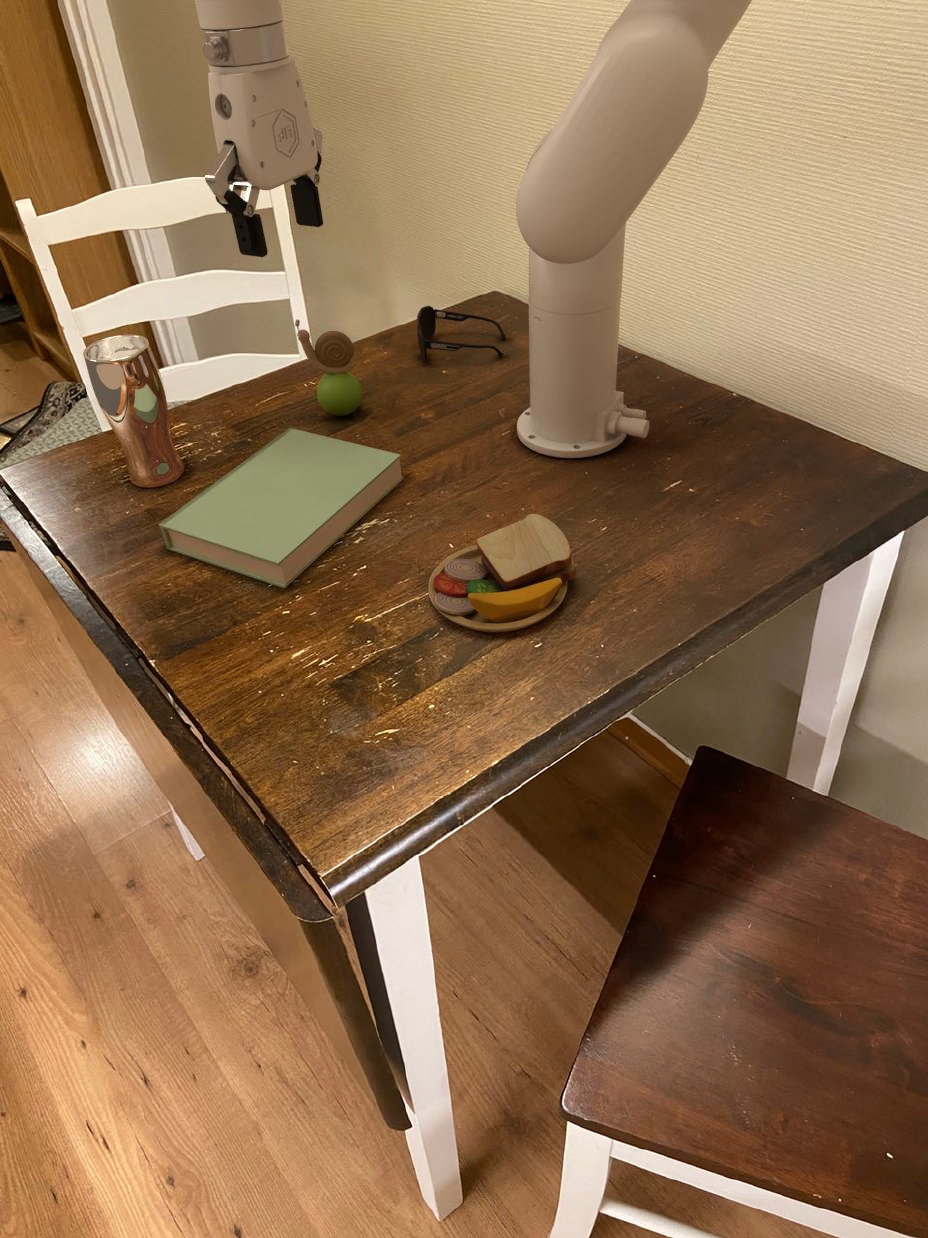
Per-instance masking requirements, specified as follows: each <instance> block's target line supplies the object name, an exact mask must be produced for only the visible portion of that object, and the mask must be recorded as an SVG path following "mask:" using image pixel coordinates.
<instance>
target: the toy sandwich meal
mask: <svg viewBox="0 0 928 1238" xmlns="http://www.w3.org/2000/svg"><path fill="white" fill-rule="evenodd" d="M570 545H571V544H570V542H569V540H568V538H567V537H566V535H565V534H564V532H563V531H562V529H560V527H559V526H558V525H556V523H554V522H553V521H552V520H550V519H549V518H548V517H546V516H543V515H541V514H538V513H529V514H527V515H526V516H525V517H524V518H523V519H521V520H518V521H516V522H513V523H512V524H509V525H506V526H504V527H502V528H499V529H496V530H494V531H492V532H489V533H487V534H485V535H483V536H480V537H478V538H476V540H475V544H474V545H472V546H468V547H465V548H462V549H459V550H458V551H456V552H454V553H452V554H450V555H449V556H447V557H446V558H444V559H443V560H442V561H441V562H440V563H439V564H438V565H437V566H436V567H435V568H434V569H433V571H432V573H431V575H430V576H429V580H428V584H427V592H428V596H429V599H430V602H431V603H432V605H433V607H434V608H435V609H436V610H437V611H438V612H439V613H440V614H441V615H442V616H444V617H445V618H446V619H448V620H449V621H451V622H453V623H455V624H457V625H459V626H462V627H465V628H467V629H470V630H473V631H477V632H483V633H485V632H486V633H506V632H507V633H508V632H513V631H517V630H521V629H524V628H527V627H530V626H532V625H534V624H536V623H538V622H540V621H542V620H543V619H545V618H547V617H549V616H550V615H551V614H552V613H553V612H554V611H555V610H556V609H558V607H559V606H560V605H561V604H562V603H563V601H564V599H565V597H566V594H567V591H568V581H571V580H573V579H575V577H576V575H577V567H576V562H575V561H576V560H575V559H574V556H573V553H572V552H571V551H572V550H571V546H570Z"/></svg>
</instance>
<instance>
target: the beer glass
mask: <svg viewBox="0 0 928 1238" xmlns="http://www.w3.org/2000/svg"><path fill="white" fill-rule="evenodd" d="M82 357H83V359H84V362H85V366H86V369H87V374H88V377H89V381H90V384H91V387H92V390H93V393H94V396H95V398H96V401H97V403H98V405H99V408H100V409H101V411H102V414H103V416H104V417H105V419H106V421H107V423H108V424H109V426H110V428H111V429H112V431H113V433H114V435H115V436H116V438H117V440H118V442H119V444H120V446H121V448H122V450H123V452H124V455H125V459H126V464H127V465H126V466H127V473H128V477H129V480H130V482H131V484H133V485H134V486H136V487H139V488H143V489H152V488H159V487H163V486H167V485H169V484H172V483H173V482H175V481H176V480H178V479H179V478H180V477H181V476H182V475H183V474H184V472H185V464H184V462H183V460H182V458H181V456H180V454H179V453H178V450H177V448H176V446H175V444H174V441H173V436H172V432H171V426H170V425H171V424H170V417H169V415H170V414H169V409H168V408H169V407H168V400H167V394H166V388H165V385H164V382H163V378H162V374H161V372H160V369H159V365H158V364H157V363H158V362H157V361H156V358H155V355H154V353H153V351H152V348H151V346H150V342H149V340H148V338H146V337H145V336H144V335H143V336H142V335H138V334H131V333H129V334H128V333H127V334H117V335H111V336H107V337H105V338H101V339H99V340H95V341H94V342H92V343H90V344H89V345H87V346H86V347H85V348H84V349H83V351H82Z"/></svg>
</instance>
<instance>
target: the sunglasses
mask: <svg viewBox="0 0 928 1238" xmlns="http://www.w3.org/2000/svg"><path fill="white" fill-rule="evenodd" d="M436 319H442V320H448V321H453V322H454V321H455V322H464V321H466V320H468V319H474V320H479V321H485V322H488V323H492V324H493V325H495V326H496V327H497V329H498V330H499V333H500V338H501V340H503V341H505V340H506V334H505V332H504V330H503V328H502V327H501V325H500V324H499V323H498V322H497V321H495V320H493V319H492V318H487V317H485V316H479V315H474V314H467V313H460V312H454V311H448V310H441V309H438V308H437V309H436V308H434V307H432V306H430V305H425V306H422V307H421V308H420V309H419V311H418V313H417V316H416V330H417V331H416V332H417V343H418V347H419V351H420V354H421V357H422V360H423V361H426V360H428V352H427V350H438V351H449V352H457V351H458V350H460V349H463V348H468V349H492V350H494V351H495V352H496V353H497V357H498V358H500V359H502V357H503V356H504V354H503V352H502V351H501V350H499V348H498V347H496V346H494V345H491V344H488V345H487V344H467V343H461V342H460V343H459V342H451V341H441V340H434V339H433V340H432V338H433V337H434V336H435V333H436V321H437V320H436Z"/></svg>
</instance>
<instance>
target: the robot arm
mask: <svg viewBox="0 0 928 1238" xmlns="http://www.w3.org/2000/svg"><path fill="white" fill-rule="evenodd" d="M752 1H753V0H629V2H628V3H627V5H626V6H625V8H624V10H623V11H622V12H621V14H620V15H619V16H618V18H616V20H615V22H613V23H612V25H611V26H610V27H609V29H608V30H607V31H606V33H605V34H604V36H603V37H602V40H601V41H600V43H599V46H598V48H597V50H596V53H595V56H594V58H593V59H592V61H591V63H590V65H589V67H588V69H587V70H586V72H585V74H584V76H583V77H582V79H581V81H580V82H579V84H578V86H577V87H576V89H575V90H574V92H573V95H572V96H571V97H570V99H569V101H568V103H567V105H566V106H565V108H564V109H563V111H562V113H561V114H560V116H559V118H558V120H557V121H556V123H555V124H554V126H553V128H551V129H550V130H549V131H548V132H547V133H546V134H545V135H544V136H543V137H542V138H541V139H540V140H539V142H538V143H537V145H536V147H535V148H534V150H533V151H532V154H531V157H530V158H529V160H528V162H527V166H526V168H525V170H524V174H523V175H522V178H521V180H520V182H519V186H518V190H517V194H516V200H515V216H516V222H517V226H518V229H519V232H520V234H521V236H522V238H523V240H524V242H525V243H526V245H527V246H528V351H529V352H528V357H529V359H528V361H529V362H528V363H529V364H528V365H529V407H528V408H527V409H525V410H524V411H523V412H522V413H521V414H520V415H519V417H518V419H517V421H516V435H517V437H518V439H519V441H520V442H521V443H522V444H523V445H524V446H526V448H529V449H530V450H532V451H534V452H536V453H538V454H541V455H545V456H547V457H548V456H549V457H554V458H558V459H559V458H561V459H582V458H590V457H594V456H598V455H601V454H605V453H607V452H609V451H612V450H613V449H615V448H616V447H618V446H619V445H621V444H622V443H623V442H624V440H625V439H626V437H627V435H628V436H632V437H636V438H642V439H645V438H647V436H648V433H649V431H650V420H647V411H646V410H643V409H639V408H629V407H628V406H627V405H626V404H624V398H625V392H624V391H619V390H617V373H618V356H619V337H620V320H621V319H620V318H621V300H622V292H623V278H624V276H623V275H624V256H625V255H624V254H625V240H626V226H627V222H628V220H630V218H631V216H632V215H633V213H634V212H635V211H636V210H637V208H638V206H639V205H640V204H641V203H642V201H643V200H644V198H645V197H646V196H647V194H648V193H649V191H650V189H651V188H652V187H653V186H654V184H655V183H656V181H657V180H658V178H659V177H660V176H661V174H662V173H663V171H664V170H665V168H666V167H667V166H668V164H669V163H670V161H671V160H672V158H673V157H674V156H675V154H676V153H677V151H678V150H679V148H680V147H681V145H682V144H683V143H684V141H685V140H686V138H687V137H688V135H689V133H690V131H691V130H692V128H693V126H694V124H695V123H696V121H697V119H698V117H699V115H700V112H701V111H702V108H703V105H704V102H705V100H706V96H707V91H708V85H709V70H710V68H711V66H712V64H713V62H714V61H715V59H716V58H717V56H718V55H719V53H720V51H721V50H722V48H723V46H724V45H725V43H727V41H728V39H729V37H730V36H731V34H732V33H733V31H734V30H735V28H736V27H737V25H738V24H739V22H740V21H741V20H742V19H743V16H744V14H745V13H746V11H747V9H748V8H749V6H750V5H751V3H752ZM194 5H195V9H196V13H197V19H198V22H199V28H200V32H201V37H202V42H203V45H202V54H203V56H204V57H205V58H206V60H207V65H208V69H209V71H208V73H207V78H208V79H207V80H208V92H209V103H210V111H211V119H212V127H213V132H214V138H215V144H216V150H217V155H216V157H215V159H214V160H213V161H212V163H211V165H210V167H209V168H208V170H207V171H206V173H205V175H204V180H205V183H206V184H207V186H208V187H209V189H210V191H211V192H212V193H213V195H214V197H215V200H216V202H217V204H219V205H220V206H221V207H222V208H224V211H225V213H226V214H227V215H228V216H231V219H232V223H233V228H234V232H235V237H236V241H237V246H238V250H239V253H240V254H241V255H243V256H250V257H257V258H264V257H266V256H268V253H269V252H268V246H267V242H266V235H265V231H264V226H263V220H262V217H261V214H260V213H256V209H257V204H258V200H259V196H260V192H261V191H270V190H273V189H276V188H279V187H280V186H283V185H285V184H287V183H290V182H293V184H290V193H291V200H292V205H293V210H294V215H295V216H294V217H295V221H296V224H297V225H299V226H303V227H313V228H320V227H322V226H323V225H324V218H323V213H322V205H321V200H320V193H319V187H318V185H320V183H321V176H320V174H319V171H320V169H321V165H322V161H323V160H322V159H323V158H322V154H321V153H322V146H323V145H322V144H323V133H322V131H320V130H319V129H317V128H315V127H313V123H312V117H311V114H310V109H309V105H308V104H309V103H308V101H307V97H306V92H305V90H304V85H303V82H302V79H301V76H300V72H299V70H298V67H297V64H296V61H295V59H294V58H293V57H290V52H289V46H288V40H287V33H286V27H285V22H284V16H283V9H282V4H281V0H194ZM242 191H243V192H245V196H244V199H243V198H242V197H241V195H242Z"/></svg>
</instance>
